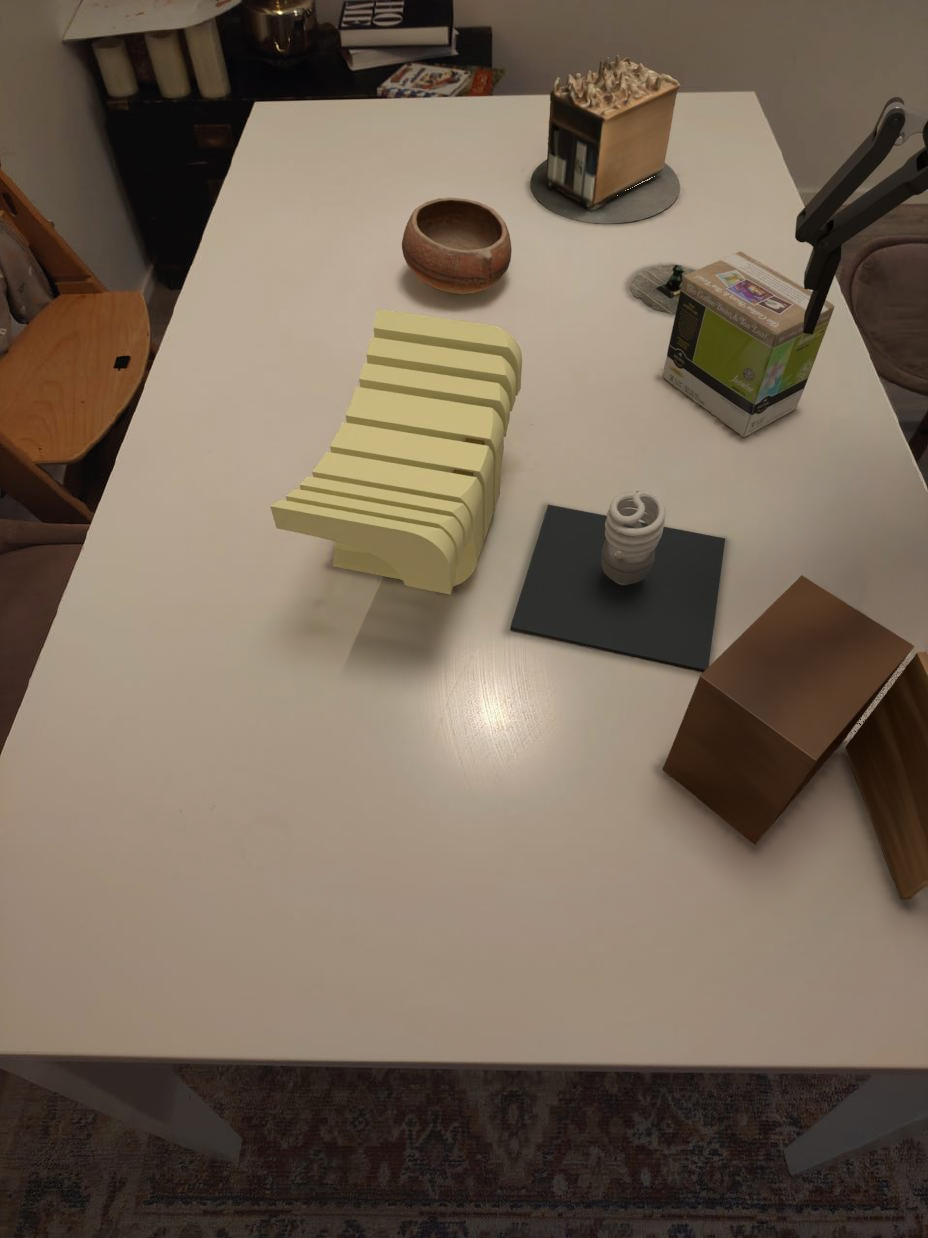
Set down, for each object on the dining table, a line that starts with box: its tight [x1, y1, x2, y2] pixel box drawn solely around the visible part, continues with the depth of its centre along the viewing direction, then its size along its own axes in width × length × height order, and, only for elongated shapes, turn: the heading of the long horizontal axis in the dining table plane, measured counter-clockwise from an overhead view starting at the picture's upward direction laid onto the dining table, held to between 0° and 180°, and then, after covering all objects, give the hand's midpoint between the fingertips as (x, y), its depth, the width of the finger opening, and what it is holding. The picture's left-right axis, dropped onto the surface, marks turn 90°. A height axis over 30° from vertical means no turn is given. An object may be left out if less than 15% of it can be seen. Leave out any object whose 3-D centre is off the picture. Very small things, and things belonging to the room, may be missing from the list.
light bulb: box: [601, 490, 666, 585], centre depth 83 cm, size 6×6×12 cm
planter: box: [530, 54, 681, 224], centre depth 132 cm, size 25×25×19 cm
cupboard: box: [662, 575, 915, 846], centre depth 69 cm, size 10×14×16 cm
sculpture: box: [629, 264, 697, 315], centre depth 121 cm, size 12×9×8 cm
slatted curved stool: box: [269, 308, 523, 596], centre depth 86 cm, size 30×16×18 cm, turn 166°
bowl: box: [401, 197, 513, 295], centre depth 119 cm, size 16×16×10 cm
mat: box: [509, 504, 726, 673], centre depth 88 cm, size 20×18×1 cm
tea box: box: [662, 251, 835, 438], centre depth 101 cm, size 15×10×15 cm, turn 34°
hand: (895, 337), depth 66 cm, fingers open, 13 cm apart
